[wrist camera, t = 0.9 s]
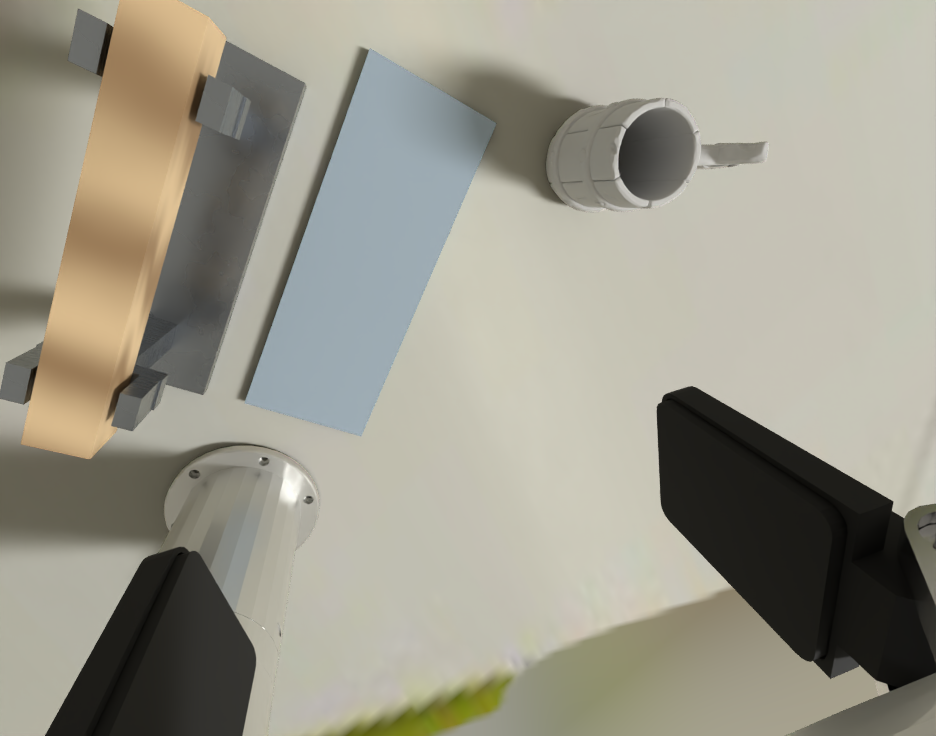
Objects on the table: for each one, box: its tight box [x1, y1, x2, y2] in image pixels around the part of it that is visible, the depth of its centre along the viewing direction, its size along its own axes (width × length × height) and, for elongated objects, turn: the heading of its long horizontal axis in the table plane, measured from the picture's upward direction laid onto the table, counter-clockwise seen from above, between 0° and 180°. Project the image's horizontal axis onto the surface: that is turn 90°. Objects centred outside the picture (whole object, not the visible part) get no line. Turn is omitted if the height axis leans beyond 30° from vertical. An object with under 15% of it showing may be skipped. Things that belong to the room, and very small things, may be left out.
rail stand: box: [0, 9, 306, 431], centre depth 28 cm, size 24×8×13 cm, turn 155°
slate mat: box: [245, 49, 497, 436], centre depth 37 cm, size 28×10×1 cm, turn 155°
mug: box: [546, 98, 769, 212], centre depth 33 cm, size 8×12×12 cm, turn 91°
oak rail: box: [21, 0, 226, 459], centre depth 23 cm, size 22×3×3 cm, turn 155°
